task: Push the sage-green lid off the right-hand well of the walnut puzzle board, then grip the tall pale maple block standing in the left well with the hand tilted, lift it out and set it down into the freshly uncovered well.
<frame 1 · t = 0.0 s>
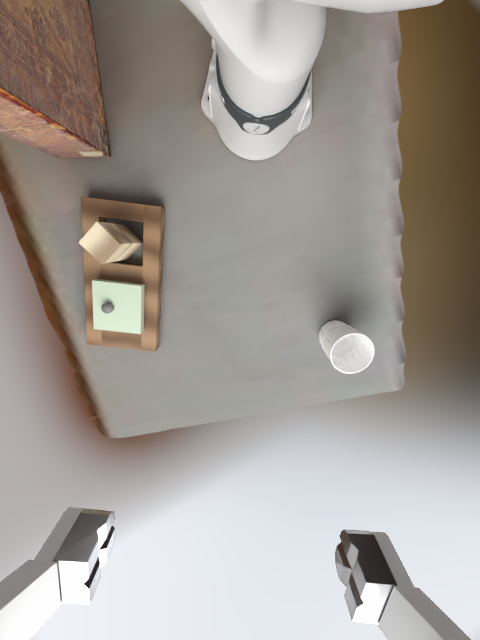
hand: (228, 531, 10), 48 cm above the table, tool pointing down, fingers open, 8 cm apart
puzzle board: (126, 278, 55), on the table
white cup: (333, 334, 59), on the table
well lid: (117, 307, 52), point 4 cm above the table, slide at 0.0 cm
book: (72, 73, 45), on the table
maple block: (126, 242, 53), resting in puzzle board
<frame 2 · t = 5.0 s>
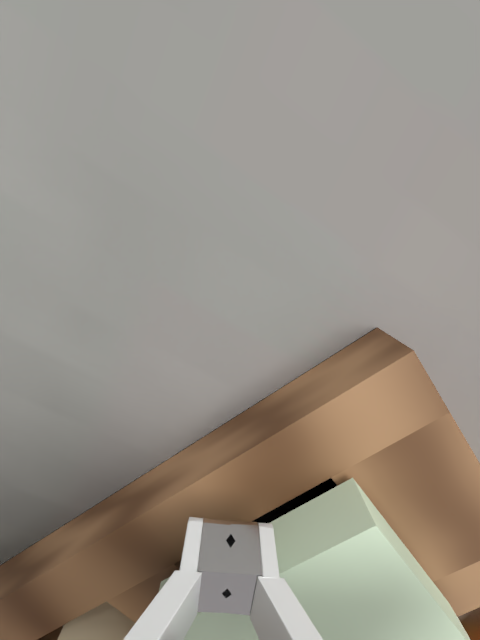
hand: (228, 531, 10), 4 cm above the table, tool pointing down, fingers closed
puzzle board: (215, 561, 16), on the table
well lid: (317, 636, 11), point 4 cm above the table, slide at 0.7 cm, touching gripper
maple block: (123, 609, 17), resting in puzzle board
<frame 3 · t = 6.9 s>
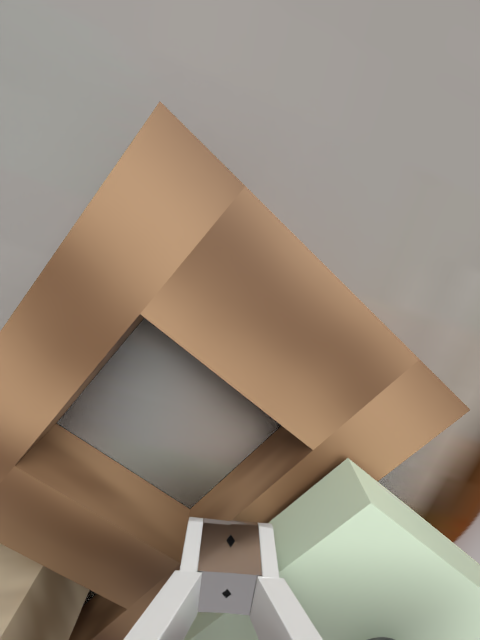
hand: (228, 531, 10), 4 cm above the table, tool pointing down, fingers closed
puzzle board: (115, 480, 14), on the table
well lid: (347, 623, 11), point 4 cm above the table, slide at 9.5 cm, touching gripper
maple block: (43, 555, 15), resting in puzzle board
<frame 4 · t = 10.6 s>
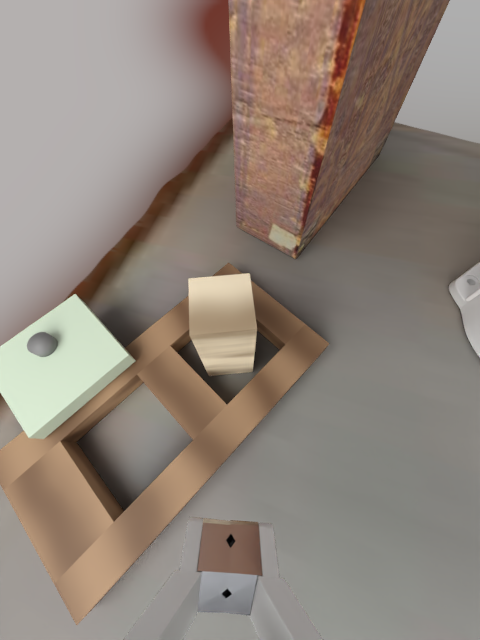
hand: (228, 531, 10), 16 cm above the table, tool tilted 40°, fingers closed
puzzle board: (178, 401, 27), on the table
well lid: (57, 359, 25), point 4 cm above the table, slide at 9.5 cm
book: (313, 190, 40), on the table
maple block: (229, 353, 29), resting in puzzle board
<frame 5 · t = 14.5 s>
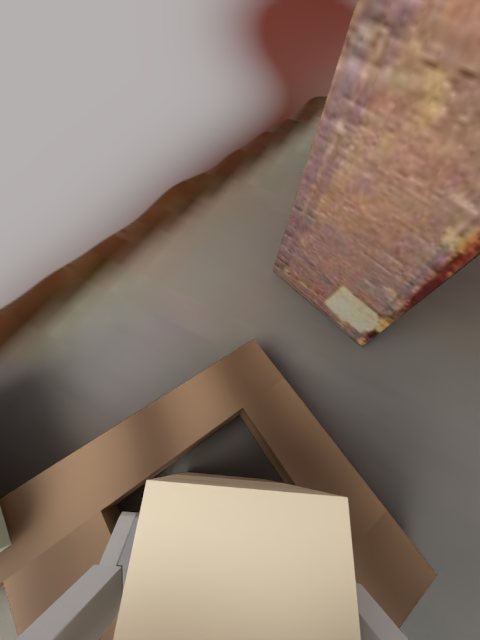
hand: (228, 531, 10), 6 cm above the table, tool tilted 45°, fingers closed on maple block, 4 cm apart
puzzle board: (90, 638, 12), on the table
book: (392, 237, 27), on the table
maple block: (221, 523, 15), resting in puzzle board, touching gripper
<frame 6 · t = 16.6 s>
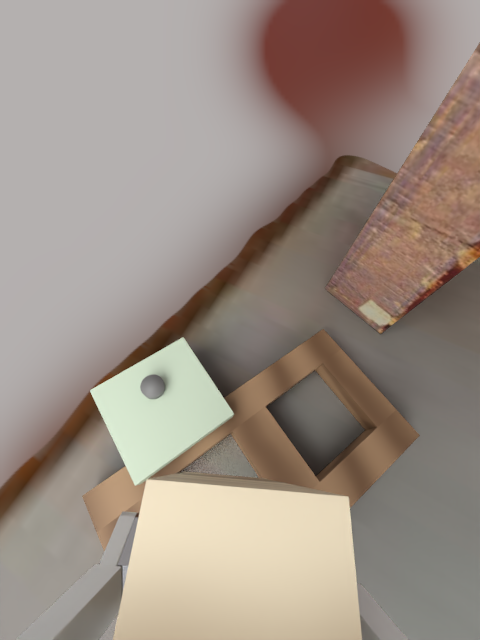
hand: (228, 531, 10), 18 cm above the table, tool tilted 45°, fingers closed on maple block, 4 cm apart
puzzle board: (262, 463, 27), on the table
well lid: (162, 402, 25), point 4 cm above the table, slide at 9.5 cm
book: (397, 264, 41), on the table
maple block: (221, 523, 15), point 12 cm above the table, touching gripper
when the fingers open (8 cm above the table, at t = 18.9 s): maple block drops 2 cm, resting in puzzle board.
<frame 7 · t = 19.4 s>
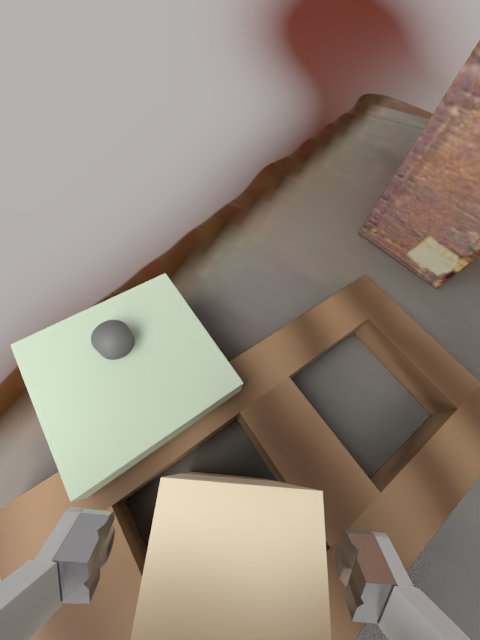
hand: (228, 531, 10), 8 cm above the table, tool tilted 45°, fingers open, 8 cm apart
puzzle board: (284, 462, 18), on the table
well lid: (129, 366, 16), point 4 cm above the table, slide at 9.5 cm
book: (446, 209, 32), on the table
maple block: (221, 518, 16), resting in puzzle board
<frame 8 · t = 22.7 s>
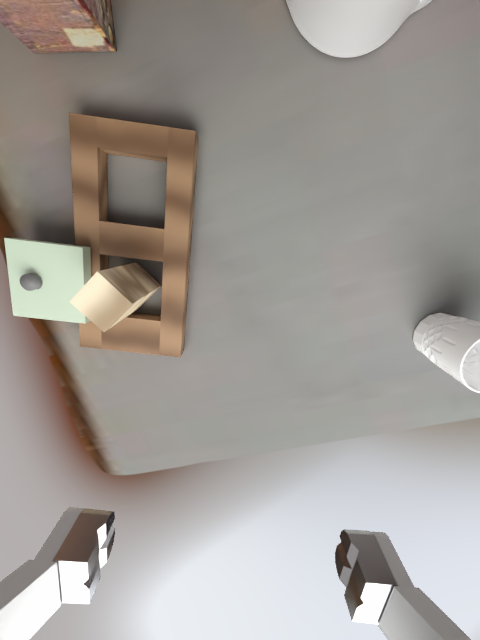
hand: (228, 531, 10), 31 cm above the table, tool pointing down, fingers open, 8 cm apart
puzzle board: (138, 249, 37), on the table
white cup: (434, 333, 41), on the table
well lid: (48, 282, 34), point 4 cm above the table, slide at 9.5 cm
maple block: (138, 285, 38), resting in puzzle board
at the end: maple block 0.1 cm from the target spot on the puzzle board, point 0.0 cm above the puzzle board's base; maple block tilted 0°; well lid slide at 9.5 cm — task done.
